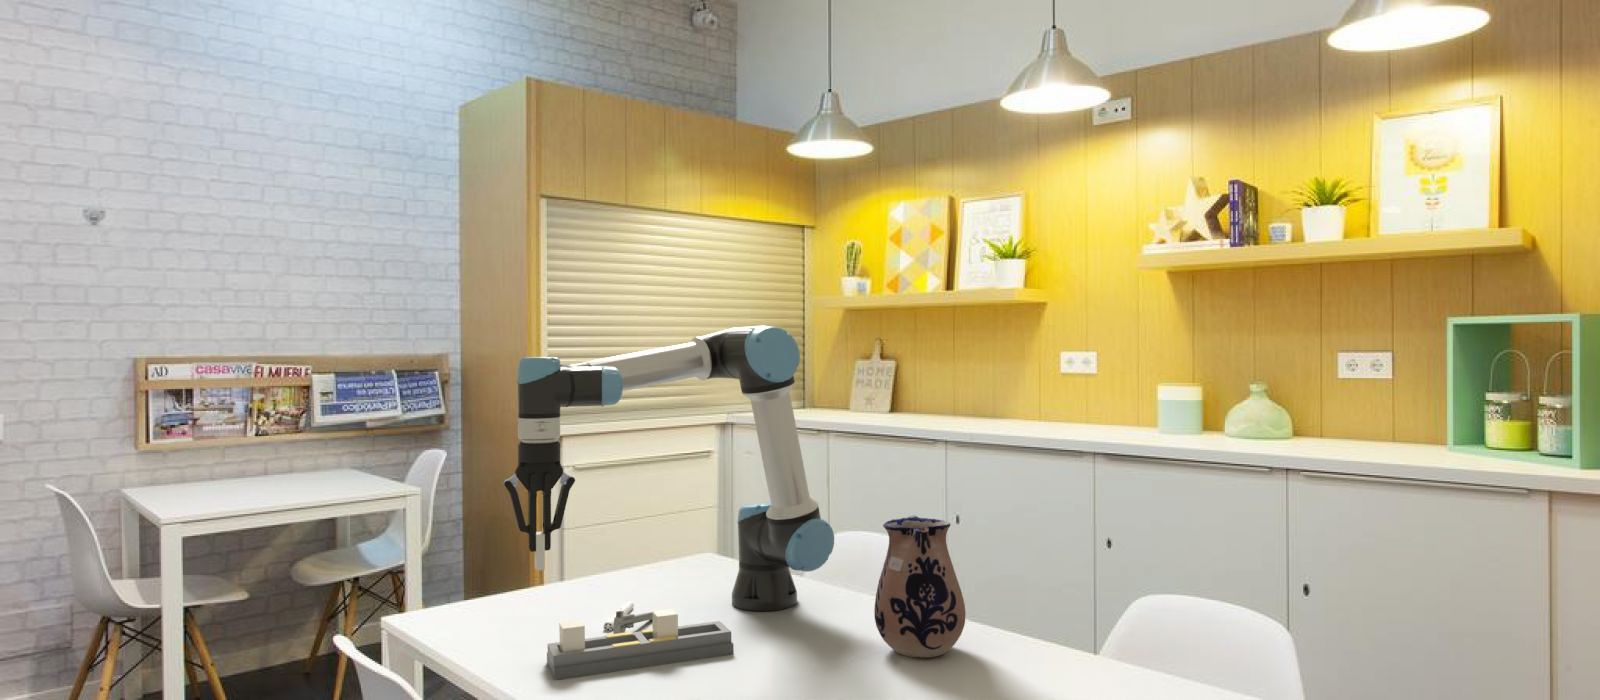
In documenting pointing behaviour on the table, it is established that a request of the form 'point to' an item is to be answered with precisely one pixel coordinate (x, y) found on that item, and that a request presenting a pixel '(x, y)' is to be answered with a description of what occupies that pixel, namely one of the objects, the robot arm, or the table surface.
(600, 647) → the switch board
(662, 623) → the tab
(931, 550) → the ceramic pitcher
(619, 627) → the caliper
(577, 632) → the tab
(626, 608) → the marker
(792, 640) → the table surface
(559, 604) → the table surface
